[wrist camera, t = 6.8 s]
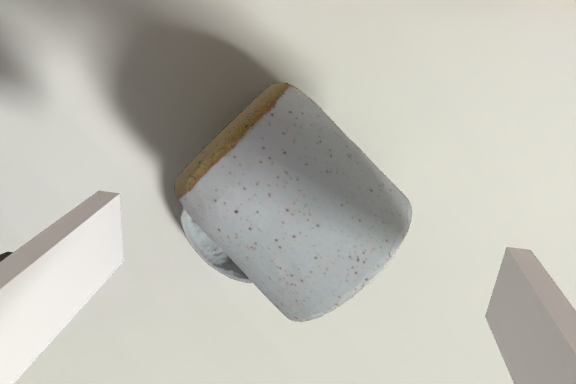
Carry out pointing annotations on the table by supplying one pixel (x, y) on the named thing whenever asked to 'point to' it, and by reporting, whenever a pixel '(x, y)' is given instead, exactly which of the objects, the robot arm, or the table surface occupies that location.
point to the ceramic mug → (291, 206)
